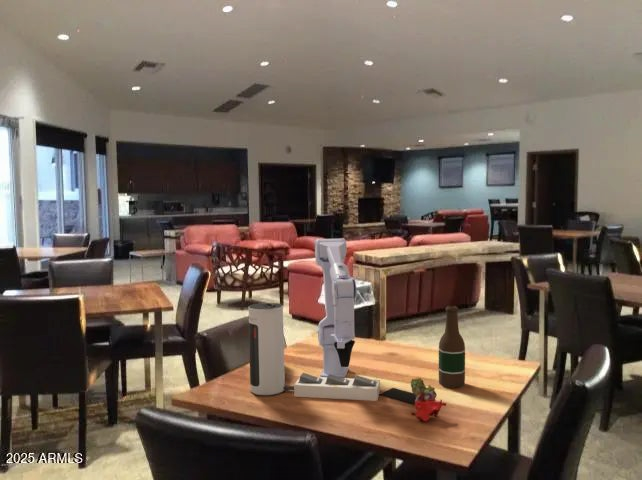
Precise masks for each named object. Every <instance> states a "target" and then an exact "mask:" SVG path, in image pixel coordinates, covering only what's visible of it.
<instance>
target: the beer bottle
mask: <svg viewBox="0 0 642 480" xmlns="http://www.w3.org/2000/svg"><path fill="white" fill-rule="evenodd" d="M445 311H446V315H445V329H444V333H443V334H442V336H441V338H440V340H439V343H438V384H439V385H441V386H442V387H443V388H447V389H461V388H462V387H463V386H465V384H466V383H465V381H466V344H465V340H464V339H463V336H462V335H461V334H460V333H461V332H460V328H459V318H458V315H459V314H458V311H459V307H458V306H456V305H448V306H445Z"/></svg>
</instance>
